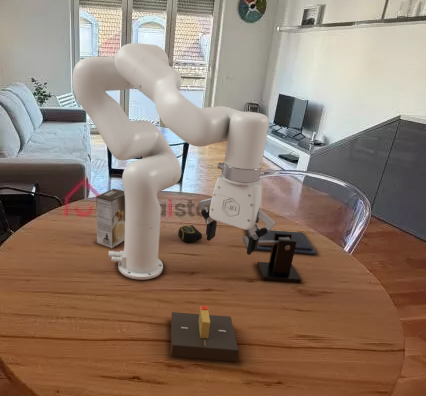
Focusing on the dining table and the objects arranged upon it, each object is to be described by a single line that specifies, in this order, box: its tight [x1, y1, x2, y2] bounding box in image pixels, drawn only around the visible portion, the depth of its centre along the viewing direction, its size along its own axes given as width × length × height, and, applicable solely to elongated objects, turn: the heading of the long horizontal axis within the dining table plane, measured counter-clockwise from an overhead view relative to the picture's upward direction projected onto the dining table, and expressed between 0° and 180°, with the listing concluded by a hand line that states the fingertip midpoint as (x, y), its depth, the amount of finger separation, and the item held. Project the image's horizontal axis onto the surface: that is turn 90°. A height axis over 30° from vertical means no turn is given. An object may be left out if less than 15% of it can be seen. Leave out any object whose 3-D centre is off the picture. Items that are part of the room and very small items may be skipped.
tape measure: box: [177, 225, 203, 243], centre depth 120 cm, size 7×7×4 cm
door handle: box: [242, 235, 290, 250], centre depth 101 cm, size 12×6×2 cm, turn 87°
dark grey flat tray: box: [246, 229, 317, 256], centre depth 122 cm, size 20×2×15 cm
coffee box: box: [95, 188, 125, 249], centre depth 115 cm, size 9×6×16 cm
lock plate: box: [170, 311, 239, 363], centre depth 77 cm, size 13×10×3 cm
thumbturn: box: [198, 305, 210, 338], centre depth 76 cm, size 5×2×4 cm, turn 176°
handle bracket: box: [256, 232, 302, 284], centre depth 102 cm, size 10×8×12 cm
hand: (230, 245), depth 83 cm, fingers open, 9 cm apart
